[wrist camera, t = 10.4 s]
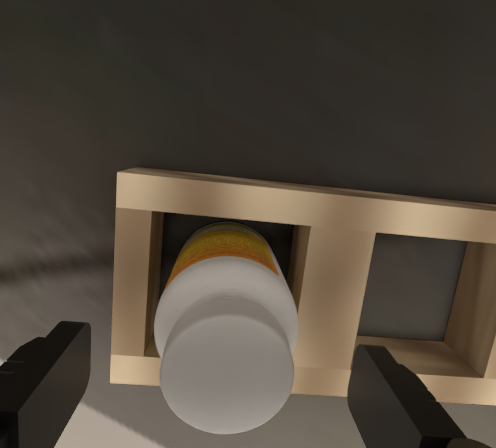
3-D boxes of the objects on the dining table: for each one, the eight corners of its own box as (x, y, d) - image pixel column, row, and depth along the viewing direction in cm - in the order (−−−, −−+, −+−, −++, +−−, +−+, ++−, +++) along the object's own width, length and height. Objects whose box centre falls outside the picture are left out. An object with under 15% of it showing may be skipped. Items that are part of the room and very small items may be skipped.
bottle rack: (129, 343, 21) (109, 383, 17) (137, 166, 18) (117, 171, 15) (461, 365, 22) (503, 405, 19) (502, 205, 20) (559, 217, 17)
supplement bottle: (157, 252, 20) (93, 355, 10) (242, 200, 19) (259, 256, 10) (211, 329, 21) (199, 484, 11) (292, 281, 20) (350, 400, 11)
